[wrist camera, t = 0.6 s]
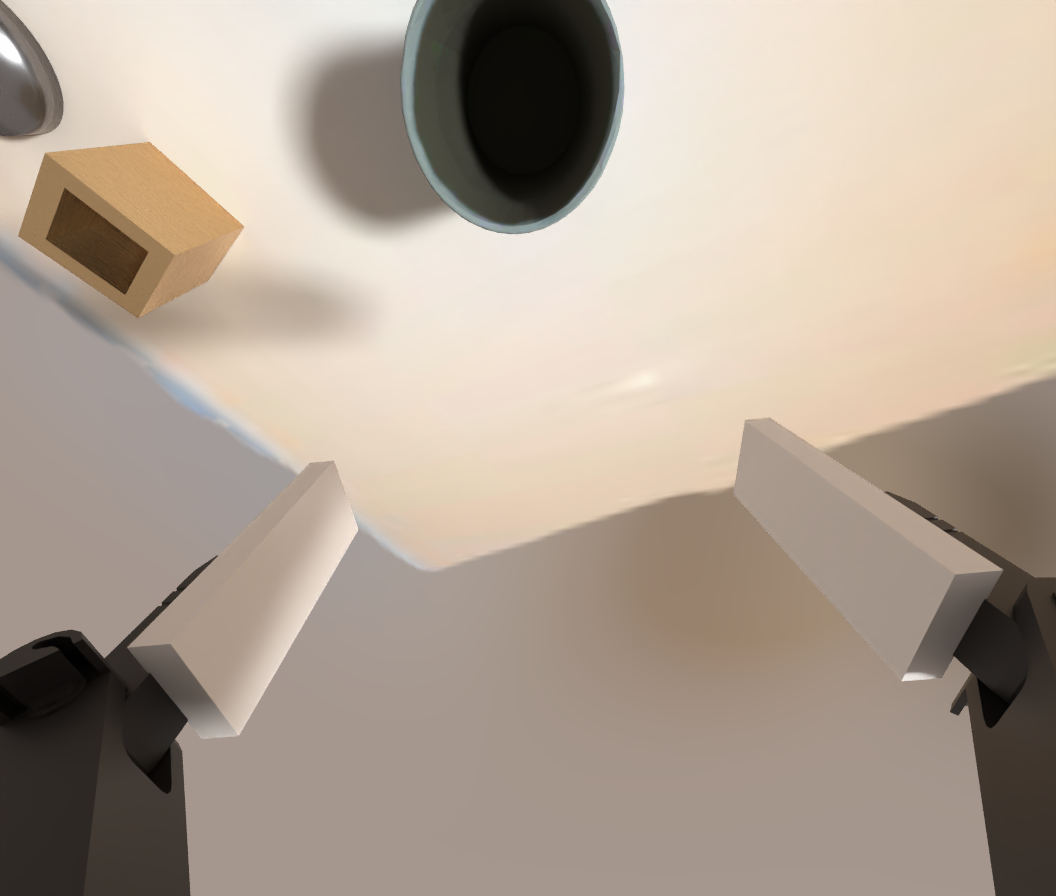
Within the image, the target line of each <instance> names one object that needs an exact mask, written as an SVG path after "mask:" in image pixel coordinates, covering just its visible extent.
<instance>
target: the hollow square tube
mask: <svg viewBox="0 0 1056 896" xmlns="http://www.w3.org/2000/svg"><path fill="white" fill-rule="evenodd" d="M243 228H244V226H243V225H242V224H241V223H239V222H238V221H237V220H236V219H235V218H234V217H233V216H232V215H230V214H229V213H228V212H227V211H226V210H225V209H224V208H223V207H222V206H220V205H219V204H218V203H217V202H216V201H215V200H214V199H213V198H211V197H210V196H209V195H208V194H207V193H206V192H205V191H204V190H203V189H201V188H200V187H199V186H198V185H197V184H196V183H195V182H194V181H192V180H191V179H190V178H189V177H188V176H187V175H186V174H185V173H184V172H182V171H181V170H180V169H179V168H178V167H177V166H176V165H175V164H173V163H172V162H171V161H170V160H169V159H168V158H167V157H166V156H165V155H163V154H162V153H161V152H160V151H159V150H158V149H157V148H156V147H154V146H153V145H152V144H151V143H150V142H147V143H137V144H127V145H118V146H108V147H98V148H88V149H79V150H69V151H59V152H49V153H45V155H44V158H43V161H42V164H41V167H40V170H39V173H38V176H37V180H36V183H35V186H34V189H33V192H32V195H31V198H30V201H29V204H28V207H27V210H26V214H25V217H24V220H23V223H22V226H21V229H20V232H19V235H18V236H19V237H20V238H22V239H23V240H25V241H26V242H28V243H29V244H31V245H32V246H34V247H35V248H37V249H38V250H39V251H41V252H42V253H44V254H45V255H47V256H48V257H50V258H51V259H53V260H54V261H56V262H57V263H58V264H60V265H61V266H63V267H64V268H66V269H67V270H69V271H70V272H72V273H73V274H75V275H76V276H77V277H79V278H80V279H82V280H83V281H85V282H86V283H88V284H89V285H91V286H92V287H94V288H95V289H96V290H98V291H99V292H101V293H102V294H104V295H105V296H107V297H108V298H110V299H111V300H113V301H114V302H115V303H117V304H118V305H120V306H121V307H123V308H124V309H126V310H127V311H129V312H130V313H132V314H133V315H134V316H136V317H137V318H139V317H141V316H143V315H145V314H146V313H148V312H150V311H152V310H154V309H156V308H158V307H160V306H161V305H163V304H165V303H167V302H169V301H171V300H173V299H175V298H177V297H178V296H180V295H182V294H184V293H186V292H188V291H190V290H192V289H194V288H195V287H197V286H199V285H201V284H203V283H205V282H207V281H208V280H209V278H210V277H211V275H212V274H213V272H214V271H215V269H216V268H217V266H218V265H219V263H220V262H221V260H222V259H223V257H224V256H225V254H226V253H227V251H228V250H229V248H230V247H231V245H232V244H233V243H234V241H235V240H236V238H237V237H238V235H239V234H240V232H241V231H242V229H243Z"/></svg>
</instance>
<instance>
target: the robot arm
mask: <svg viewBox="0 0 1056 896" xmlns="http://www.w3.org/2000/svg"><path fill="white" fill-rule="evenodd" d="M734 495H735V496H736V497H737V499H738V500H739V501H740V502H741V503H742V504H743V505H744V506H745V507H746V509H747V510H748V511H749V512H750V513H751V514H752V515H753V516H754V517H755V519H756V520H757V521H758V522H759V523H760V524H761V525H762V526H763V528H764V529H765V530H767V532H768V533H769V534H770V535H771V536H772V538H773V539H774V540H775V541H776V542H777V543H778V544H779V545H780V546H781V548H782V549H783V550H784V551H785V552H786V553H787V554H788V555H789V557H790V558H791V559H792V560H793V561H794V562H795V563H796V564H797V565H798V567H799V568H800V569H801V570H802V571H803V572H804V573H805V574H806V575H807V577H808V578H809V579H810V580H811V581H812V582H813V583H814V584H815V586H816V587H817V588H818V589H819V590H820V591H821V592H822V593H823V594H824V596H825V597H826V598H827V599H828V600H829V601H830V602H831V603H832V605H833V606H834V607H835V608H836V609H837V610H838V611H839V612H840V613H841V614H842V616H843V617H844V618H845V619H846V620H847V621H848V622H849V623H850V624H851V626H852V627H853V628H854V629H855V630H856V631H857V632H858V633H859V635H860V636H861V637H862V638H863V639H864V640H865V641H866V642H867V643H868V645H869V646H870V647H871V648H872V649H873V650H874V651H875V652H876V653H877V655H878V656H879V657H880V658H881V659H882V660H883V661H884V662H885V664H886V665H887V666H888V667H889V668H890V669H891V670H892V671H893V673H894V674H895V675H896V676H897V677H898V678H899V679H900V680H901V681H910V680H922V679H934V678H942V676H943V675H944V673H945V671H946V669H947V668H948V666H949V664H950V662H951V661H952V659H953V657H954V656H955V657H956V658H957V659H958V660H959V661H960V662H961V663H962V664H963V665H964V666H966V667H967V668H968V669H969V670H970V671H971V674H970V676H969V677H968V679H967V680H966V682H965V684H964V685H963V687H962V689H961V690H960V692H959V694H958V695H957V697H956V698H955V700H954V701H953V703H952V706H951V710H950V712H951V713H954V714H956V715H959V714H960V712H961V711H962V709H963V708H964V706H967V705H968V708H969V714H970V721H971V728H972V735H973V742H974V749H975V756H976V762H977V770H978V777H979V783H980V791H981V797H982V804H983V811H984V818H985V825H986V832H987V839H988V846H989V853H990V860H991V867H992V873H993V880H994V886H995V894H996V896H1056V578H1035V577H1033V576H1031V575H1030V574H1028V573H1027V572H1025V571H1023V570H1022V569H1020V568H1018V567H1017V566H1015V565H1014V564H1012V563H1011V562H1009V561H1007V560H1006V559H1004V558H1003V557H1001V556H999V555H998V554H996V553H994V552H993V551H991V550H990V549H988V548H987V547H985V546H983V545H982V544H980V543H979V542H977V541H975V540H974V539H972V538H971V537H969V536H967V535H966V534H964V533H963V532H957V529H956V528H955V527H953V526H952V525H950V524H948V523H947V522H945V521H944V520H938V517H937V516H935V515H934V514H932V513H931V512H929V511H928V510H926V509H924V508H923V507H921V506H920V505H918V504H916V503H915V502H912V501H910V500H907V499H905V498H902V497H900V496H897V495H895V494H892V493H890V492H883V491H881V490H880V489H878V488H877V487H875V486H874V485H872V484H870V483H869V482H868V481H866V480H864V479H863V478H861V477H860V476H858V475H857V474H855V473H854V472H852V471H850V470H849V469H848V468H846V467H844V466H843V465H841V464H840V463H838V462H837V461H835V460H834V459H832V458H831V457H829V456H828V455H826V454H825V453H823V452H821V451H820V450H818V449H817V448H815V447H814V446H812V445H811V444H809V443H808V442H806V441H805V440H803V439H802V438H800V437H798V436H797V435H795V434H794V433H792V432H791V431H789V430H788V429H786V428H785V427H783V426H782V425H780V424H778V423H777V422H775V421H774V420H772V419H771V418H762V419H752V420H745V424H744V430H743V436H742V443H741V449H740V456H739V462H738V468H737V475H736V481H735V487H734ZM357 531H358V527H357V524H356V521H355V518H354V516H353V513H352V510H351V507H350V504H349V502H348V499H347V496H346V493H345V491H344V488H343V485H342V482H341V479H340V477H339V474H338V471H337V468H336V466H335V463H334V461H326V462H316V463H310V464H309V465H308V466H307V467H306V468H305V469H304V470H303V471H302V472H301V473H300V474H299V475H298V476H297V477H296V478H295V479H294V480H293V481H292V482H291V483H290V484H289V485H288V486H287V487H286V488H285V489H284V490H283V491H282V492H281V493H280V494H279V495H278V496H277V497H276V498H275V499H274V500H273V501H272V502H271V503H270V505H268V506H267V507H266V508H265V509H264V510H263V511H262V512H261V513H260V514H259V515H258V516H257V517H256V518H255V519H254V520H253V522H251V523H250V524H249V526H247V527H246V528H245V530H243V531H242V532H241V534H239V535H238V536H237V537H236V539H234V540H233V541H232V542H231V544H230V545H228V546H227V547H226V548H225V550H223V551H222V552H221V553H220V555H218V556H216V557H214V558H213V559H211V560H210V561H208V562H207V563H205V564H204V565H202V566H201V567H199V568H198V569H196V570H195V571H194V572H193V573H192V574H191V575H189V576H188V578H186V579H185V580H184V581H183V582H182V583H181V584H180V585H179V586H178V587H177V591H175V592H172V593H171V594H170V595H169V596H168V597H167V598H166V599H165V600H164V601H163V602H162V606H158V607H157V608H156V609H155V610H154V611H153V612H152V613H151V614H150V615H149V616H148V617H147V618H146V619H144V620H143V621H142V622H141V623H140V624H139V625H138V626H137V627H136V628H135V629H134V630H133V631H132V632H131V634H129V635H128V636H127V637H126V638H125V639H124V640H123V641H122V642H121V643H120V644H119V645H118V646H117V647H116V648H115V649H114V650H113V651H112V652H111V653H110V654H109V655H108V656H107V657H106V658H105V659H104V658H103V657H102V655H100V653H99V652H98V651H97V650H96V649H95V647H94V646H93V645H92V644H91V643H90V642H89V641H88V639H87V638H86V637H85V636H84V635H83V634H82V633H81V632H79V631H75V630H67V631H61V632H55V633H52V634H50V635H47V636H44V637H41V638H39V639H36V640H34V641H32V642H30V643H28V644H26V645H24V646H22V647H20V648H18V649H16V650H14V651H12V652H11V653H9V654H8V655H6V656H5V657H3V658H1V659H0V896H190V882H189V865H188V846H187V829H186V811H185V795H184V776H183V760H182V759H183V758H182V750H181V748H180V746H179V744H178V743H177V741H176V740H175V738H176V737H177V736H178V734H179V733H180V731H181V730H182V729H183V727H184V725H185V724H186V723H187V722H188V723H189V724H190V725H191V727H192V728H193V729H194V730H195V731H196V732H197V734H198V735H199V736H200V737H201V739H206V738H218V737H231V736H239V734H240V732H241V731H242V729H243V728H244V726H245V724H246V722H247V721H248V719H249V717H250V715H251V714H252V712H253V710H254V709H255V707H256V705H257V703H258V701H259V700H260V698H261V697H262V695H263V693H264V691H265V690H266V688H267V686H268V684H269V683H270V681H271V679H272V678H273V676H274V674H275V672H276V671H277V669H278V667H279V666H280V664H281V662H282V660H283V659H284V657H285V655H286V653H287V652H288V650H289V648H290V646H291V645H292V643H293V641H294V640H295V638H296V636H297V634H298V633H299V631H300V629H301V628H302V626H303V624H304V622H305V621H306V619H307V617H308V616H309V614H310V612H311V610H312V609H313V607H314V605H315V603H316V602H317V600H318V598H319V597H320V595H321V593H322V591H323V590H324V588H325V586H326V584H327V583H328V581H329V579H330V578H331V576H332V574H333V572H334V571H335V569H336V567H337V566H338V564H339V562H340V560H341V559H342V557H343V555H344V553H345V552H346V550H347V548H348V547H349V545H350V543H351V541H352V539H353V538H354V536H355V534H356V533H357Z"/></svg>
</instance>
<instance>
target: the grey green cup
mask: <svg viewBox="0 0 1056 896" xmlns="http://www.w3.org/2000/svg"><path fill="white" fill-rule="evenodd" d="M400 81H401V96H402V111H403V116H404V120H405V125H406V130H407V134H408V137H409V140H410V143H411V146H412V149H413V152H414V155H415V158H416V160H417V162H418V164H419V166H420V168H421V170H422V172H423V174H424V175H425V177H426V178H427V180H428V182H429V183H430V185H431V187H432V188H433V189H434V190H435V192H436V193H437V194H438V196H439V197H440V198H441V199H442V200H443V201H444V202H445V203H446V204H447V205H448V206H449V207H450V208H451V209H452V210H453V211H455V212H456V213H457V214H458V215H460V216H461V217H462V218H464V219H466V220H467V221H469V222H471V223H473V224H475V225H477V226H479V227H481V228H484V229H486V230H490V231H494V232H497V233H506V234H522V233H530V232H533V231H537V230H540V229H544V228H546V227H548V226H550V225H552V224H554V223H556V222H558V221H559V220H561V219H562V218H564V217H565V216H567V215H568V214H569V213H570V212H572V211H573V210H574V209H575V208H576V207H577V206H579V205H580V203H581V202H582V201H583V200H584V199H585V198H586V196H587V195H588V194H589V193H590V192H591V190H592V189H593V188H594V186H595V185H596V183H597V181H598V180H599V178H600V177H601V175H602V173H603V171H604V169H605V167H606V164H607V162H608V160H609V157H610V155H611V152H612V150H613V147H614V144H615V141H616V138H617V135H618V132H619V128H620V122H621V117H622V112H623V100H624V72H623V57H622V52H621V47H620V42H619V37H618V33H617V28H616V25H615V22H614V20H613V17H612V14H611V11H610V8H609V6H608V4H607V2H606V0H417V2H416V4H415V6H414V8H413V11H412V14H411V17H410V21H409V24H408V27H407V31H406V37H405V44H404V52H403V60H402V68H401V76H400Z"/></svg>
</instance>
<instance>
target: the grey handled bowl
mask: <svg viewBox="0 0 1056 896" xmlns="http://www.w3.org/2000/svg"><path fill="white" fill-rule="evenodd" d="M62 115H63V98H62V93H61V89H60V85H59V82H58V79H57V77H56V74H55V72H54V70H53V68H52V66H51V64H50V62H49V60H48V58H47V56H46V55H45V53H44V51H43V50H42V48H41V47H40V45H39V43H38V42H37V41H36V39H35V38H34V37H33V35H32V34H31V32H30V31H29V30H28V29H27V27H26V26H25V25H24V24H23V23H22V21H21V20H20V19H19V18H18V17H17V16H16V15H15V14H14V13H13V12H12V10H11V9H10V8H8V7H7V6H6V5H5V4H4V3H3V2H2V1H1V0H0V135H3V136H18V135H34V134H44V133H48V132H51V131H52V130H54V129H55V128H56V127H57V126H58V125H59V123H60V121H61V119H62Z"/></svg>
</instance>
